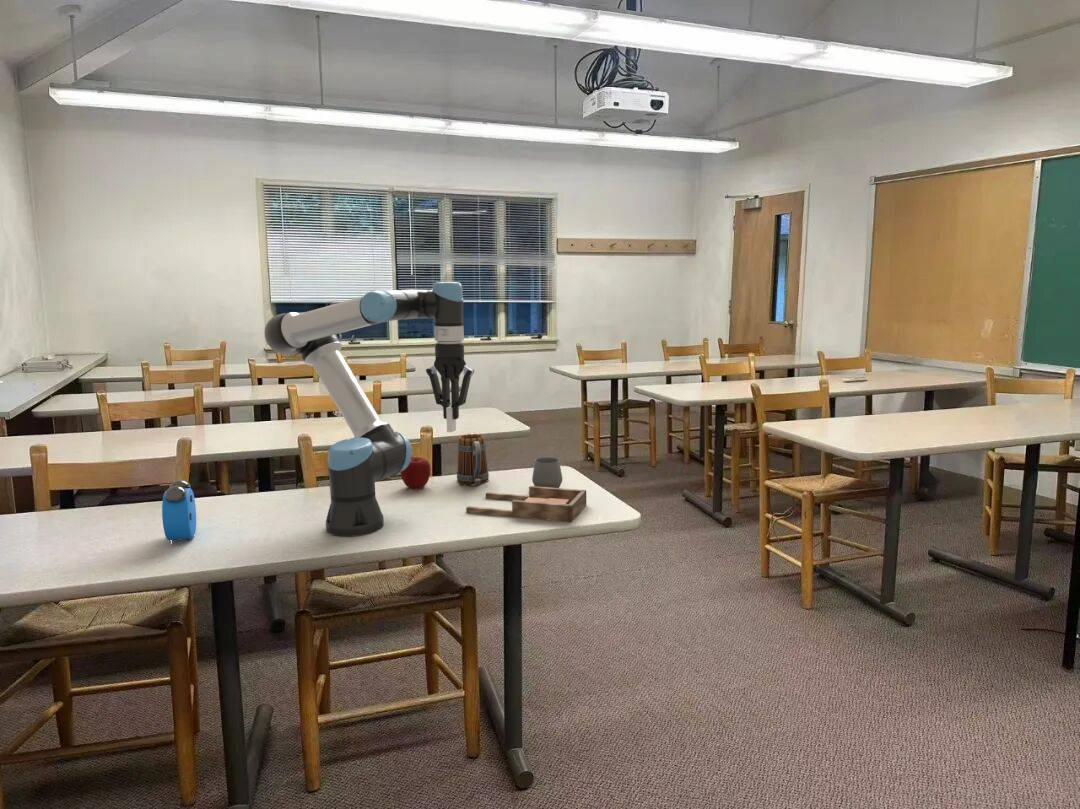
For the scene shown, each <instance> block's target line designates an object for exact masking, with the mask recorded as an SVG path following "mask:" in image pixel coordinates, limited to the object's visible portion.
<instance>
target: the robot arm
mask: <svg viewBox="0 0 1080 809" xmlns="http://www.w3.org/2000/svg"><path fill="white" fill-rule="evenodd" d="M464 300H465V299H464V295H463V286H462V284H461V283H460V282H458V281H456V282H455V281H449V282H448V281H436V282H434V283H433V287H432V289H413V288H405V289H398V290H397V289H396V290H394V289H393V290H383V289H376V290H374V291H372V290H371V291H367V293H365V294H364V295H363V296H359V297H355V298H353V299H352V298H351V299H348V300H344V301H341V302H338V303H333V304H330V305H327V306H324V307H320V308H316V309H313V310H309V311H305V312H303V311H302V312H295V311H292V312H291V311H290V312H284V313H279V314H277V315H274V316H272V318H270V319H269V320H268V321H267V322H266V324H265V328H264V333H263V334H264V339H265V342H266V343H267V345H268V346H269V348H270V349H271V350H273V351H274V352H276V353H278V354H281V355H285V356H291V355H292V356H293V355H300V357H301V359H302V360H303V362H304V363H305V364H306V366H312V367H313V369H315V373H317V375H318V377H319V378H320V380H321V382H322V383H323V385H324V386H325V389H326V390H327V392H328V394H329V396H330V398H331V399H332V401H333V402H334V404H335V405H336V407H337V409H338V411H339V412H340V414H341V416H342V417H343V419H344V421H345V423H346V424H347V426H348V428H349V429H350V431H351V433H352V434H353V436H354V437H352V438H345V439H342V440H339V441H336V442H335V443H334V444H333V443H332V445H330V447H329V448H328V450H327V462H326V463H327V468H328V480H329V491H330V492H329V493H330V504H329V508H328V510H327V516H326V520H325V530H326V532H327V533H328V534H329V533H330V535H332V534H333V535H332V536H336V535H337V536H338V537H356V536H357V537H359V536H364V535H367V534H372V533H375V532H377V531H378V530H380V529H382V528H383V527H384V524H385V521H384V514H383V512H382V510H381V507H380V505H379V502H378V500H377V496H376V483H377V482H379V481H382V480H385V479H388V478H389V477H394V476H397V475H398V474H400V473H401V471H403V470H405V469H406V468H407V467H408V465H409V463H410V461H411V457H413V449H412V445H411V441H410V440H409V438H408V437H407V436H406V435H405V434H403V433H402V432H398V431H394V429H393V427H392V426H391V424H390V423H389V422H387V421H383V420H382V419H381V418H380V416H379V415H378V413H377V412H376V410H375V408H374V406H373V405H372V403H371V401H370V400H369V397H368V396H367V394H366V393H365V391H364V390H363V388H362V386H361V384H360V383H359V381H358V380H357V378H356V376H355V375H354V372H353V371H352V369H351V368H350V366H349V364H348V363H347V361H346V359H345V358H344V356H343V355H342V353H341V350H342V347H343V344H342V342H341V341H342V335H341V334H342V333H346V332H350V331H353V330H358V329H362V328H365V327H369V326H373V325H374V326H375V325H379V324H381V323H386V322H391V321H402V320H414V319H415V320H416V319H430V320H431V319H432V320H433V322H434V341H435V342H436V343H435V344H434V357H435V359H434V362H433V365H432V366H430V367H428V368H426V370H425V372H426V374H427V376H428V378H429V379H430V384H431V388H432V393H433V396H434V399H435V403H436V405H440V406H442V411H443V416H442V417H443V419H446V432H447V433H454V432H455V431H457V420H458V419H459V418H460V417H459V416H460V406H463V405H464V404H466V402H467V397H468V393H469V392H468V391H469V388H470V382H471V379H472V377H473V375H474V373H475V369H473V368H470V367H468V366H467V363H466V361H465V344H464V343H463V342H464V340H465V335H464V334H465V332H464ZM462 372H463V377H462V381H461V386H460V382H459V381H460V376H461V374H462ZM437 373H438V374H439V375H440V380H441V384H440V381H439V376H438V374H437Z"/></svg>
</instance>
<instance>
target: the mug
mask: <svg viewBox="0 0 1080 809" xmlns="http://www.w3.org/2000/svg"><path fill="white" fill-rule="evenodd" d="M458 437H459V438H458V443H457V450H458V452H457V472H456V480H457V482H458V483H459V484H461V485H464V484H465V486H466V485H467V486H475V485H477V486H478V485H482V484H486V483H487V482H488V481H489V477H490V473H489V468H488V462H487V461H488V460H487V452H486V449H487V446H486V442H485V437H484V435H482V434H480V433H479V434H477V433H473V434H471V433H469V434H462V435H459V436H458Z"/></svg>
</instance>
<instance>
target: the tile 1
mask: <svg viewBox="0 0 1080 809" xmlns="http://www.w3.org/2000/svg"><path fill="white" fill-rule="evenodd" d="M547 500H548V499H544V498H531V497H528V498H527V499H526V500H525V501H533V502H546V501H547Z"/></svg>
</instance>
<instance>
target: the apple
mask: <svg viewBox="0 0 1080 809" xmlns="http://www.w3.org/2000/svg"><path fill="white" fill-rule="evenodd" d="M430 476H431V465H430V462H429V461H428V460H427V459H426V458H424V457H421V456H411V461H410V463H409V465H408V467H407V468H406V469H405V470H403V471H401V472H400V477H401V480H402V481H403V483H404V486H406V487H407V488H408V489H411V490H418V489H423V488H424V487H426V485H427V483H428V481H429V480H430Z"/></svg>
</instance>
